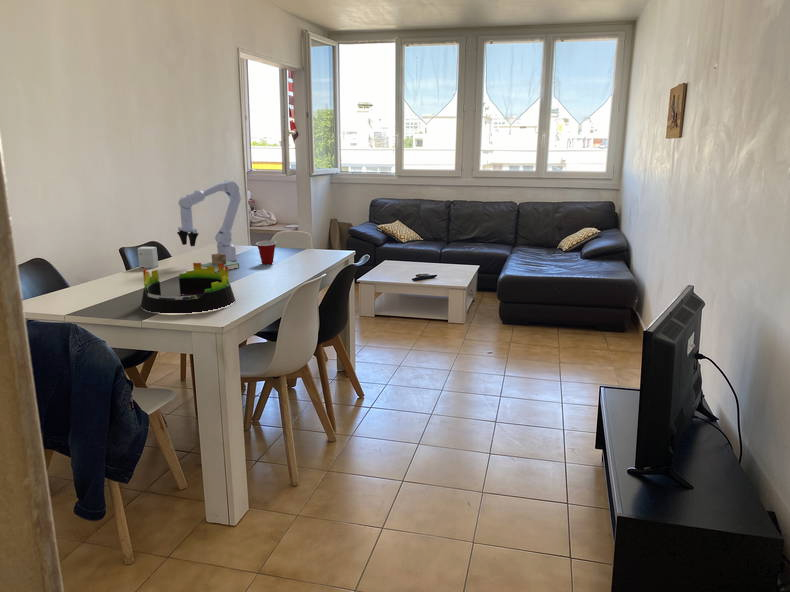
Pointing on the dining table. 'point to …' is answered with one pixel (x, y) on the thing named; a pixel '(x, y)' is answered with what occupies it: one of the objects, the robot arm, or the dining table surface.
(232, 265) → the book
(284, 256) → the dining table surface
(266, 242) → the plastic cup
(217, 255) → the walnut block
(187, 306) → the decorative container
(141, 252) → the small box
